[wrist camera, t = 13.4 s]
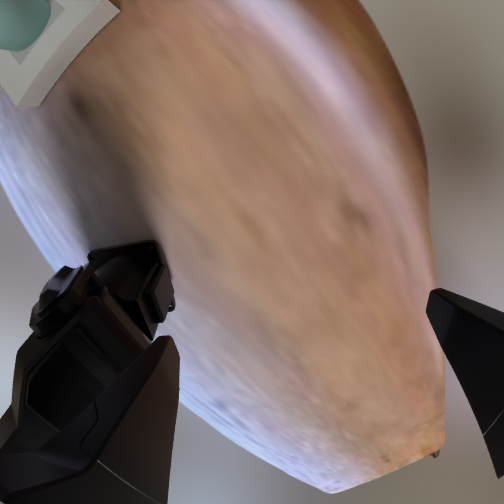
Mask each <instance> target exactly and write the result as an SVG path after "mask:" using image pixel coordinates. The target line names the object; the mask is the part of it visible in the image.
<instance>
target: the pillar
mask: <svg viewBox="0 0 504 504" xmlns="http://www.w3.org/2000/svg"><path fill="white" fill-rule="evenodd" d="M50 13H51V7H50V4H49V2H48V1H46V0H0V49H3V50H9V51H15V52H19V51H22V50H24V49H26V48H28V47H29V46H30V45H32V44H33V43H34V42H35V41H36V40H37V38H38V37H39V36H40V35H41V33H42V32H43V30H44V29H45V27H46V25H47V23H48V20H49V17H50Z"/></svg>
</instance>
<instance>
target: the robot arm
mask: <svg viewBox="0 0 504 504" xmlns="http://www.w3.org/2000/svg"><path fill="white" fill-rule="evenodd" d="M149 245H152V246H153V249H151V248H149ZM92 255H93V256H94V257H95V259H94V258H93V257H92ZM87 257H88V261H89V263H87V264H86V265H84V266H83V267H82V265H81V266H80V267H78V268H76V269H75V268H74V269H73V268H70V267H67V266H64V267H62V268H61V269H60V270H59V271H58V272H57V273H56V274H55V275H54V276H53V277H52V278H51V279H50V280H49V281H48V282H47V283H46V285H45V286H44V288H43V290H42V292H41V294H40V299H39V301H38V302H37V303H36V304H35V305H34V307H33V308H32V313H31V318H30V324H29V326H30V328H31V329H32V330H33V331H34V332H33V333H32V334H31V335H30V336H29V338H28V339H27V340H26V341H25V342H24V343H23V345H22V346H21V347H20V348H19V350H18V351H17V355H16V363H15V369H14V378H13V388H12V402H11V405H10V406H9V408H8V409H7V411H6V412H5V413H4V415H3V416H2V417H1V419H0V504H167V502H168V489H169V477H170V468H171V458H172V449H173V441H174V432H175V424H176V417H177V409H178V401H179V390H180V388H179V370H180V356H179V352H178V350H177V348H176V345H175V343H174V340H173V338H172V337H171V336H170V335H167V336H159V337H158V338H157V339H156V340H155V341H154V342H151V341H153V339H154V336H155V333H156V330H157V327H158V324H159V323H163V322H164V320H165V318H166V315H167V312H171V311H173V310H174V309H175V306H176V305H175V301H174V298H173V294H174V289H173V285H172V282H171V279H170V276H169V272H168V269H167V266H166V265H165V264H164V263H162V259H161V256H160V252H159V249H158V245H157V243H156V242H155V241H154V240H146V241H140V242H135V243H129V244H124V245H119V246H113V247H108V248H103V249H98V250H92V251H91V252H90V253H89V254H88V256H87ZM170 305H171V307H169V306H170ZM426 314H427V317H428V319H429V321H430V323H431V325H432V327H433V330H434V332H435V334H436V336H437V339H438V341H439V343H440V346H441V348H442V350H443V352H444V353H445V355H446V357H447V359H448V361H449V363H450V365H451V366H452V368H453V370H454V372H455V374H456V376H457V378H458V380H459V382H460V384H461V386H462V388H463V391H464V393H465V395H466V397H467V399H468V401H469V404H470V406H471V408H472V410H473V413H474V415H475V417H476V420H477V422H478V425H479V427H480V429H481V432H482V435H483V437H484V440H485V443H486V445H487V448H488V451H489V454H490V457H491V460H492V463H493V466H494V468H495V472H496V475H497V478H498V479H500V478H501V477H503V476H504V312H501V311H498V310H496V309H494V308H491V307H489V306H486V305H483V304H481V303H479V302H476V301H474V300H471V299H468V298H466V297H463V296H461V295H458V294H455V293H453V292H450V291H447V290H445V289H442V288H437V289H434V290H432V291H431V292H430V294H429V298H428V303H427V307H426Z"/></svg>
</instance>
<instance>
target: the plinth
mask: <svg viewBox="0 0 504 504" xmlns="http://www.w3.org/2000/svg"><path fill="white" fill-rule="evenodd" d="M46 1H48V2H49V4H50V7H51V13H50V17H49V20H48V23H47V25H46V27H45V29H44V30H43V32H42V33H41V35H40V36H39V37H38V38H37V40H36V41H35V42H34V43H33V44H32V45H30V46H29V47H28V48H26V49H24V50H22V51H19V52H15V51H9V50H3V49H0V85H1V87H2V88H3V89H4V91H5V92H6V94H7V95H8V96H9V98H10V99H11V100H12V102H13V103H14V104H15V106H16V107H39V106H40V104H41V103H42V101H43V100H44V98H45V97H46V95H47V94H48V92H49V91H50V90H51V88H52V87H53V85H54V84H55V83H56V81H57V80H58V79H59V77H60V76H61V75H62V73H63V72H64V71H65V70H66V68H67V67H68V66H69V65H70V63H71V62H72V61H73V60H74V59H75V57H76V56H77V55H78V54H79V53H80V52H81V50H82V49H83V48H84V47H85V46H86V45H87V44H88V43H89V42H90V41H91V39H92V38H93V37H94V36H95V35H96V34H97V33H98V32H99V31H100V30H101V29H102V28H103V27H104V26H105V25H106V24H107V23H108V22H109V21H110V20H111V19H112V18H113V17H115V16H116V15H117V14H118V13H119V12H120V10H119V9H118V8H116V7H115V6H114V5H113V4H112V3H111V2H110V1H108V0H46Z"/></svg>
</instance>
